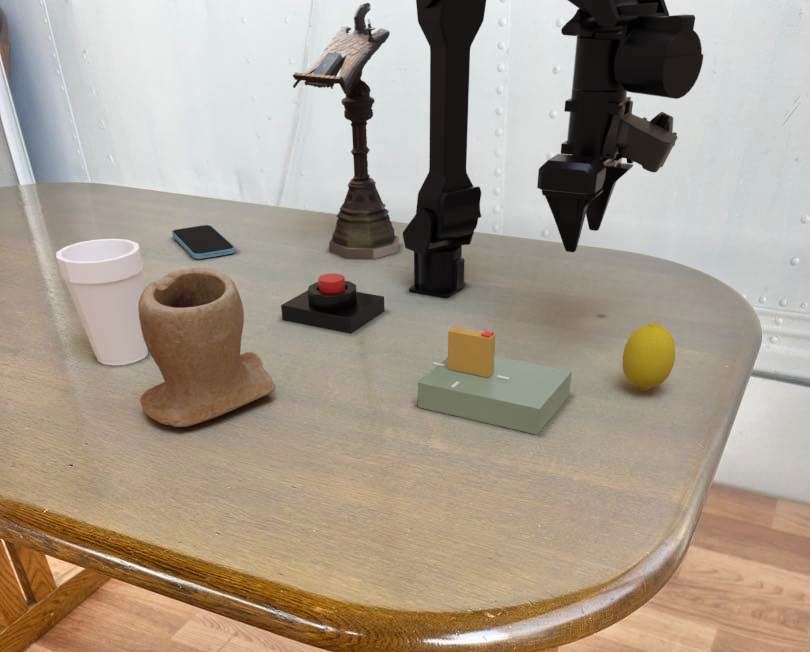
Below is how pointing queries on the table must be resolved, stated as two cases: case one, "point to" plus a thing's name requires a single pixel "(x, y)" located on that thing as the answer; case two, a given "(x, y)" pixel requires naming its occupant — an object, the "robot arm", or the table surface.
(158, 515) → the table surface
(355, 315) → the release button base
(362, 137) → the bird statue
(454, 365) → the orange flat slab
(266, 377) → the stone cup
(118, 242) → the foam cup
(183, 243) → the smartphone
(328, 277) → the button
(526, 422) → the plate
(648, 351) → the lemon
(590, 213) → the robot arm
